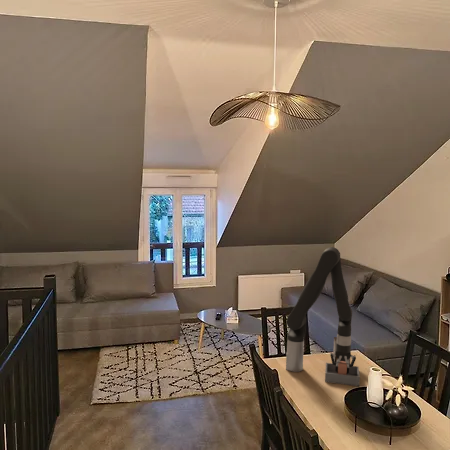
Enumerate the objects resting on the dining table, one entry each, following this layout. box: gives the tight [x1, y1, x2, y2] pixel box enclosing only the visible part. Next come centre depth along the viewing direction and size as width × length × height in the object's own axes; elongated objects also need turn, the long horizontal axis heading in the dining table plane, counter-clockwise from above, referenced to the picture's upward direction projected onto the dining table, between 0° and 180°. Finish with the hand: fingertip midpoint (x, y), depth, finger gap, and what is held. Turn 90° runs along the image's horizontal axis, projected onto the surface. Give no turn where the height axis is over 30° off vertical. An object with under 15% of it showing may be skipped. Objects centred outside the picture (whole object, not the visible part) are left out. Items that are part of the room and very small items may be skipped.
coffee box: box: [332, 336, 352, 364], centre depth 254 cm, size 9×6×16 cm
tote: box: [324, 362, 361, 387], centre depth 238 cm, size 18×14×5 cm
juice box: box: [338, 361, 347, 375], centre depth 237 cm, size 4×4×7 cm
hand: (342, 372), depth 238 cm, fingers closed on juice box, 4 cm apart
